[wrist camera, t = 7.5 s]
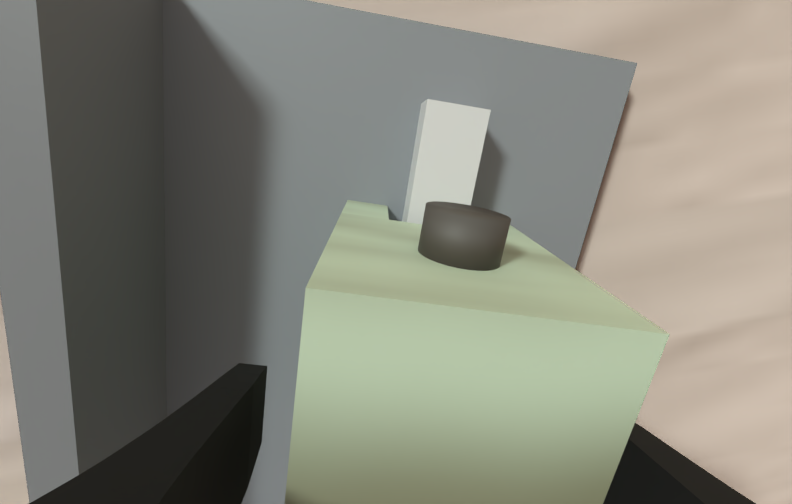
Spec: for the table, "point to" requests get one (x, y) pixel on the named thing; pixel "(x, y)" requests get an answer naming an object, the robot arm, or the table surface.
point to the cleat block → (460, 367)
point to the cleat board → (245, 189)
